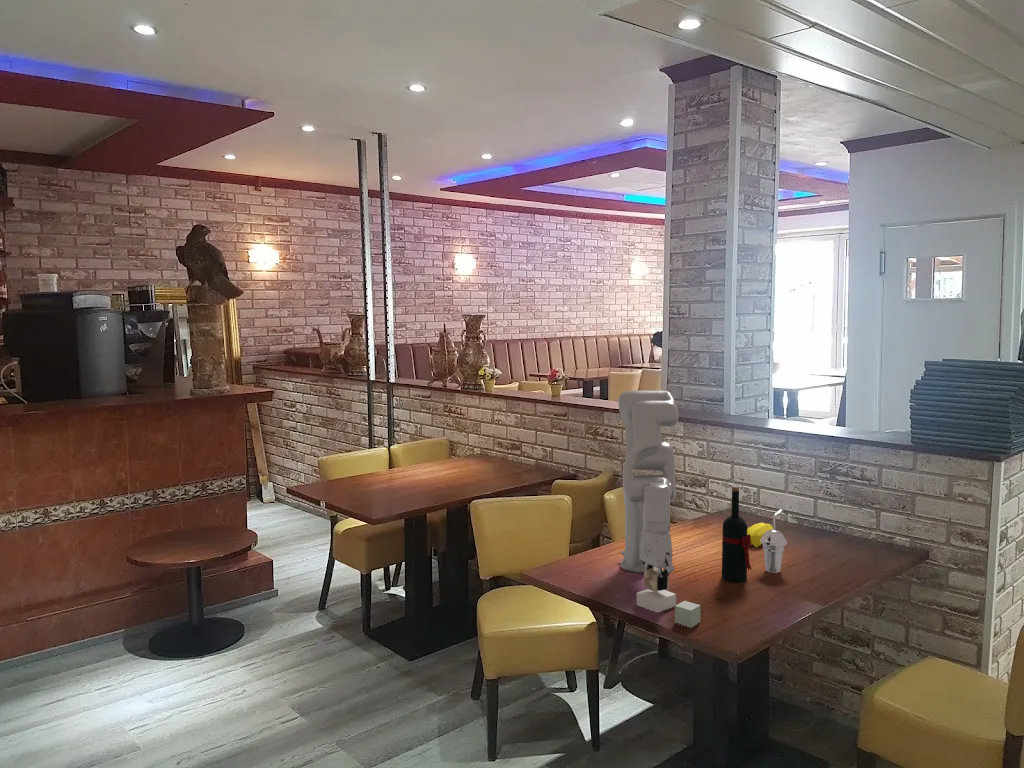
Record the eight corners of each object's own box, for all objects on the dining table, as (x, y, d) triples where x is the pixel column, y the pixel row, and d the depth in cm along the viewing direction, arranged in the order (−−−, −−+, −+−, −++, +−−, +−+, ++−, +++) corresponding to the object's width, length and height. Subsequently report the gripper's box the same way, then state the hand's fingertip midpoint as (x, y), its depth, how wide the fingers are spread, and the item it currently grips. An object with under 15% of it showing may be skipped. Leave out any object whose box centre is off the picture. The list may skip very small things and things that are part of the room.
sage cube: (674, 623, 205) (675, 605, 205) (684, 617, 209) (684, 600, 208) (691, 628, 202) (691, 610, 201) (700, 622, 205) (700, 605, 205)
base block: (636, 605, 219) (636, 592, 218) (654, 599, 223) (655, 586, 223) (657, 614, 212) (657, 600, 212) (675, 607, 217) (675, 594, 217)
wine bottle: (742, 587, 232) (743, 492, 229) (716, 578, 240) (717, 486, 238) (758, 582, 236) (759, 489, 234) (732, 573, 245) (733, 483, 242)
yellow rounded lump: (737, 546, 275) (757, 550, 269) (737, 528, 274) (757, 532, 269) (759, 535, 287) (778, 539, 282) (759, 518, 287) (779, 522, 282)
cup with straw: (754, 567, 250) (755, 509, 248) (778, 565, 252) (779, 507, 250) (769, 576, 241) (770, 515, 240) (793, 573, 244) (794, 513, 242)
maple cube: (644, 586, 218) (644, 569, 218) (657, 583, 221) (657, 567, 220) (654, 591, 214) (654, 574, 214) (668, 588, 216) (668, 572, 216)
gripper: (628, 520, 222) (628, 579, 223) (664, 534, 206) (664, 598, 208) (649, 517, 225) (648, 575, 227) (686, 531, 210) (685, 593, 211)
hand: (656, 585), depth 217 cm, fingers closed on maple cube, 4 cm apart
